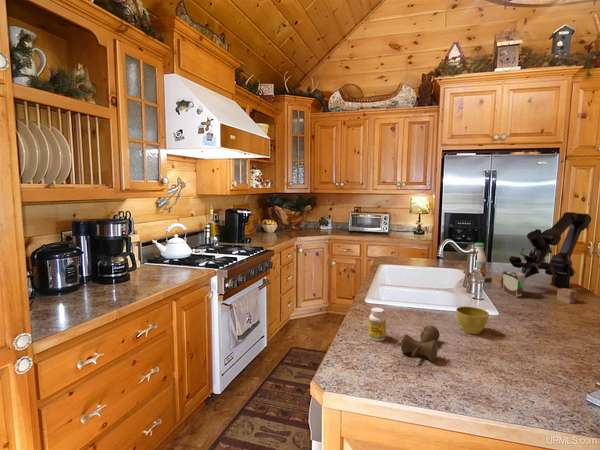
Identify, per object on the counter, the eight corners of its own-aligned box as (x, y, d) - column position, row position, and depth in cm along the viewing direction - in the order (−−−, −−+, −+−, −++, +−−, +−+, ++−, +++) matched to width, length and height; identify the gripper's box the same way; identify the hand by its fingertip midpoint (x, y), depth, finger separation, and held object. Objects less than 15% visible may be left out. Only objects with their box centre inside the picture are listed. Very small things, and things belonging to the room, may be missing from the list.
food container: (531, 298, 155) (532, 276, 154) (518, 299, 155) (519, 277, 154) (514, 290, 168) (514, 269, 166) (501, 290, 167) (502, 270, 166)
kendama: (447, 345, 111) (429, 370, 95) (416, 338, 117) (395, 360, 100) (447, 326, 111) (430, 349, 94) (417, 320, 116) (395, 340, 100)
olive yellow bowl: (461, 323, 128) (462, 304, 127) (491, 331, 120) (493, 311, 120) (450, 331, 120) (451, 311, 120) (481, 340, 113) (483, 319, 113)
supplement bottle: (385, 335, 116) (386, 307, 115) (384, 342, 111) (385, 313, 110) (369, 333, 118) (370, 305, 117) (367, 340, 113) (368, 311, 112)
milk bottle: (469, 281, 183) (471, 243, 181) (468, 277, 190) (470, 241, 188) (485, 283, 180) (488, 244, 178) (484, 279, 187) (486, 242, 185)
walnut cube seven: (563, 298, 156) (564, 287, 155) (576, 302, 152) (577, 290, 151) (556, 300, 154) (557, 289, 153) (569, 303, 149) (570, 292, 149)
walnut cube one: (498, 283, 180) (499, 273, 179) (507, 286, 175) (508, 276, 174) (491, 284, 178) (492, 274, 177) (500, 287, 173) (501, 277, 172)
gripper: (512, 239, 171) (495, 263, 167) (553, 245, 154) (535, 272, 150) (522, 254, 175) (505, 277, 171) (562, 261, 158) (545, 288, 155)
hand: (521, 278), depth 162 cm, fingers closed
